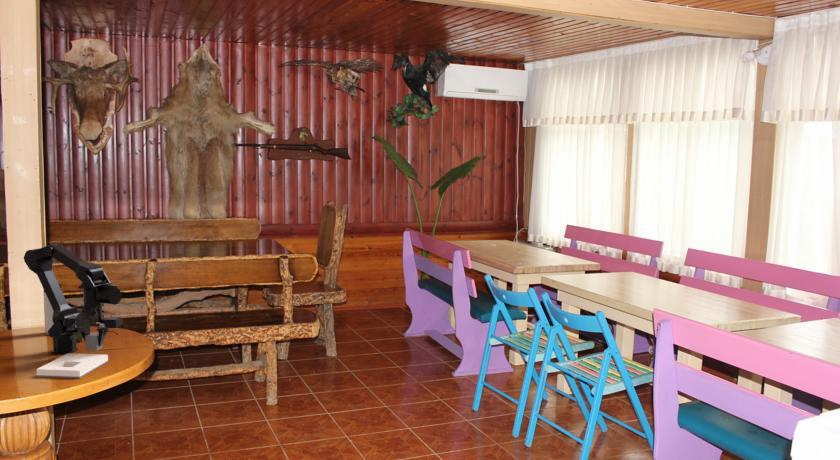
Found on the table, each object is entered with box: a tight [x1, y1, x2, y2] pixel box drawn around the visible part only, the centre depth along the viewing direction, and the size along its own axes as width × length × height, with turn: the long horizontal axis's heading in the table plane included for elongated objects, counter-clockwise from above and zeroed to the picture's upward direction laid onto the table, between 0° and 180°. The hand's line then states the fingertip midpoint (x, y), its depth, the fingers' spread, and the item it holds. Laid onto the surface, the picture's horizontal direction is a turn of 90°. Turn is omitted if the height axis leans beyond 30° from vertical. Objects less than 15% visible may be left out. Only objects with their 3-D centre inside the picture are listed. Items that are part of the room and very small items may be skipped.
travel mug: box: [43, 283, 63, 336], centre depth 276 cm, size 6×7×20 cm
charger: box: [84, 333, 103, 351], centre depth 247 cm, size 4×4×5 cm
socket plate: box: [36, 352, 109, 379], centre depth 233 cm, size 14×18×2 cm
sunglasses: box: [74, 325, 119, 343], centre depth 275 cm, size 14×15×5 cm
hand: (94, 345), depth 247 cm, fingers closed on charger, 4 cm apart
